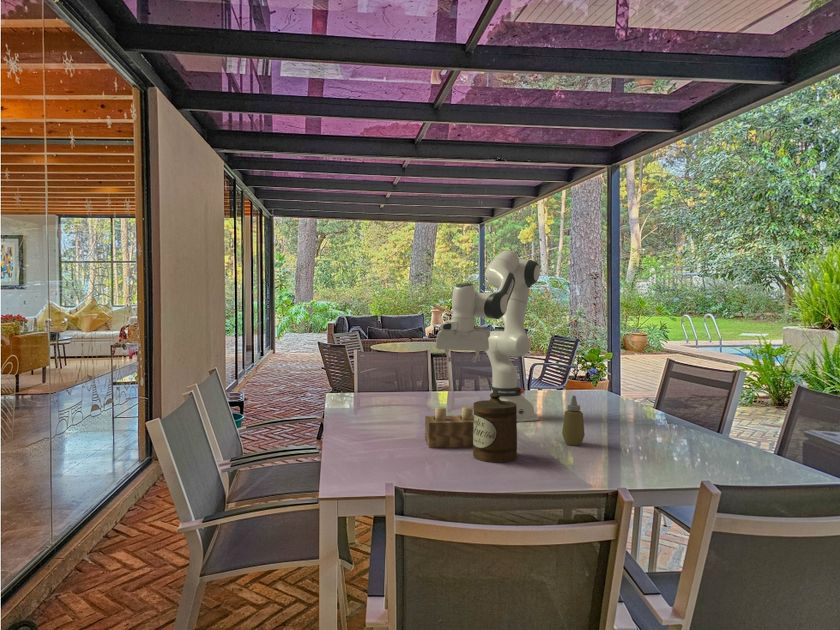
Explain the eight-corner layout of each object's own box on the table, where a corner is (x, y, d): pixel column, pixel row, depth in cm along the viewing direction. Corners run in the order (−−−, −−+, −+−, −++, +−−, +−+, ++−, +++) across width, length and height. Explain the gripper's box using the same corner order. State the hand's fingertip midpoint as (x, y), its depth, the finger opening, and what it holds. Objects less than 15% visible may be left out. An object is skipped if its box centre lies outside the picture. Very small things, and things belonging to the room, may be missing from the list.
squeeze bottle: (572, 447, 209) (573, 398, 209) (557, 442, 216) (558, 394, 216) (589, 445, 213) (590, 396, 212) (573, 440, 220) (574, 393, 220)
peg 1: (445, 428, 216) (445, 407, 216) (446, 431, 212) (446, 409, 212) (434, 428, 216) (434, 407, 216) (435, 431, 212) (436, 409, 212)
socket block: (476, 438, 222) (477, 415, 222) (483, 446, 210) (483, 421, 210) (425, 439, 220) (425, 415, 220) (429, 447, 208) (429, 422, 208)
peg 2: (471, 428, 218) (471, 406, 217) (473, 430, 214) (473, 408, 213) (460, 428, 217) (461, 407, 217) (462, 430, 213) (463, 409, 213)
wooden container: (465, 453, 201) (465, 390, 200) (502, 449, 207) (502, 387, 206) (486, 464, 188) (487, 397, 187) (525, 460, 193) (526, 394, 193)
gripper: (489, 326, 223) (488, 362, 223) (436, 324, 224) (435, 360, 224) (490, 326, 216) (489, 363, 216) (436, 325, 217) (435, 361, 218)
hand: (461, 362), depth 220 cm, fingers open, 8 cm apart
